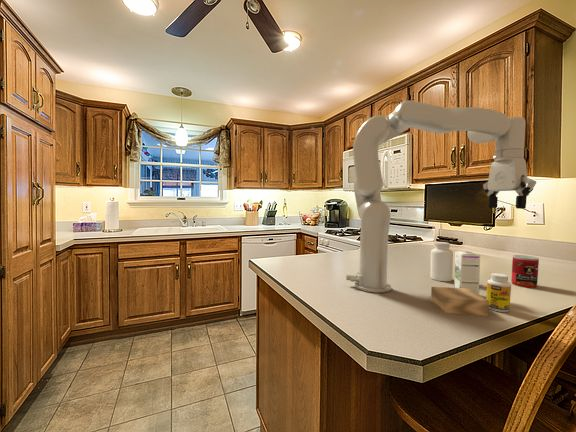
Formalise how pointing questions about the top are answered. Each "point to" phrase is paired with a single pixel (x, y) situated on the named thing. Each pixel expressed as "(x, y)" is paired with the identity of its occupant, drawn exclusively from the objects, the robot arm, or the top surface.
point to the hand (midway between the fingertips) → (505, 208)
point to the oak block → (459, 301)
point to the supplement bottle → (498, 292)
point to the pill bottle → (441, 262)
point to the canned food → (525, 271)
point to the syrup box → (467, 270)
